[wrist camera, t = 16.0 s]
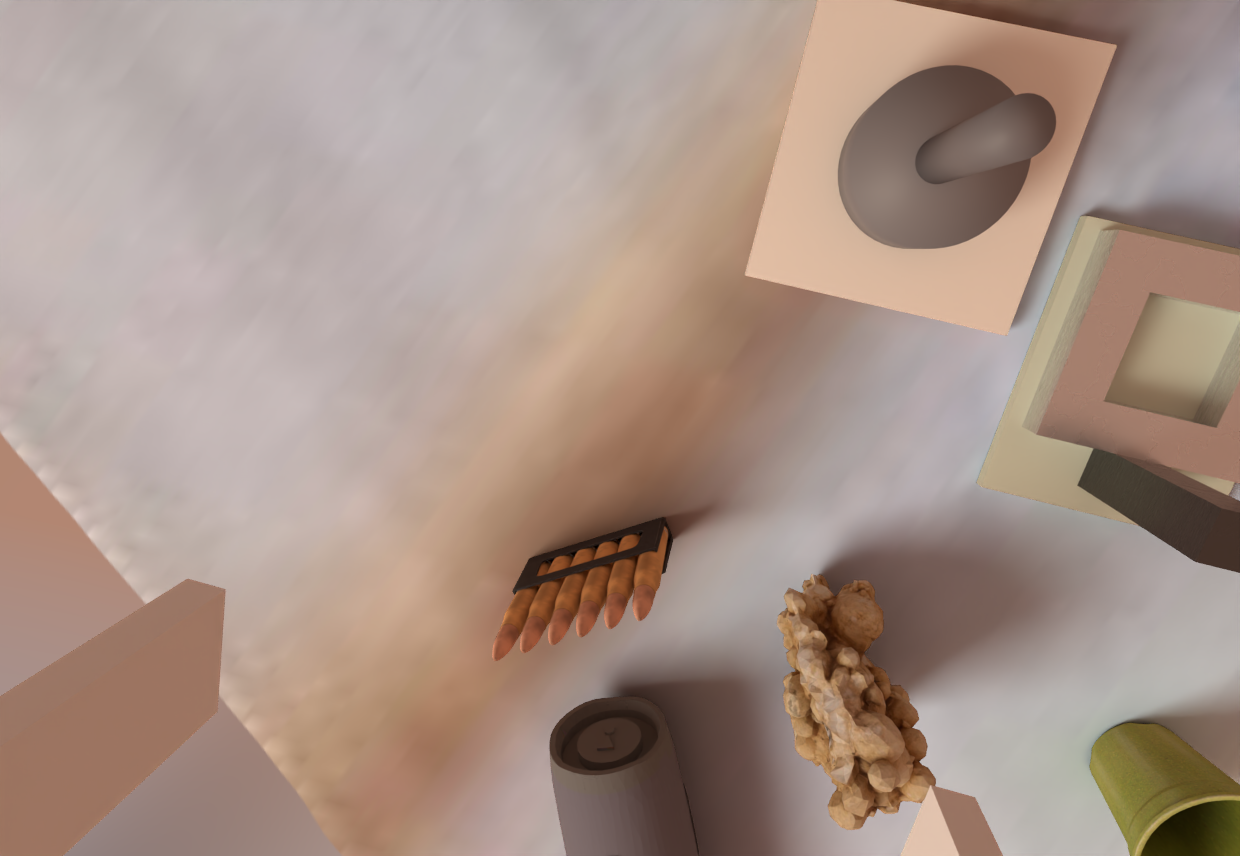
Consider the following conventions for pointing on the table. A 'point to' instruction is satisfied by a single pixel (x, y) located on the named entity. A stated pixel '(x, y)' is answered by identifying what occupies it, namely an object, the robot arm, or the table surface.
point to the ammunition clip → (586, 585)
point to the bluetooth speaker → (619, 782)
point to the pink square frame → (1138, 437)
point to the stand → (924, 158)
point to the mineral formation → (849, 703)
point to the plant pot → (1166, 793)
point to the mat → (1146, 377)
